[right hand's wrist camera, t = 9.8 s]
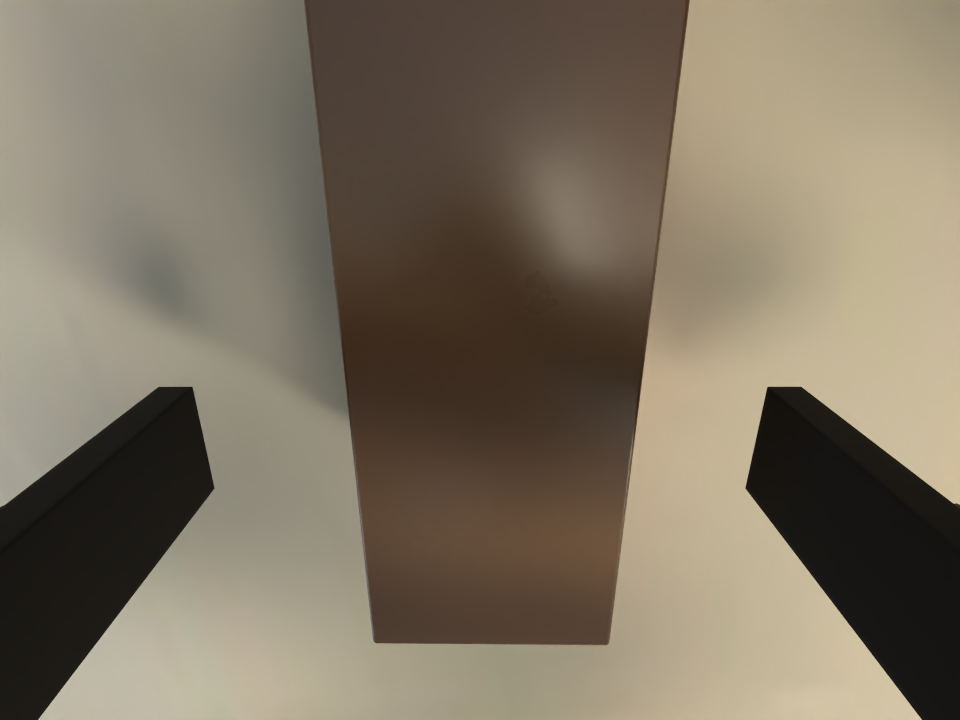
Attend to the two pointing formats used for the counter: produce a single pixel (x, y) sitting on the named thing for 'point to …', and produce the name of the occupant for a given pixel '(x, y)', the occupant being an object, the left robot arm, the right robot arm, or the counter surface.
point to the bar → (494, 296)
